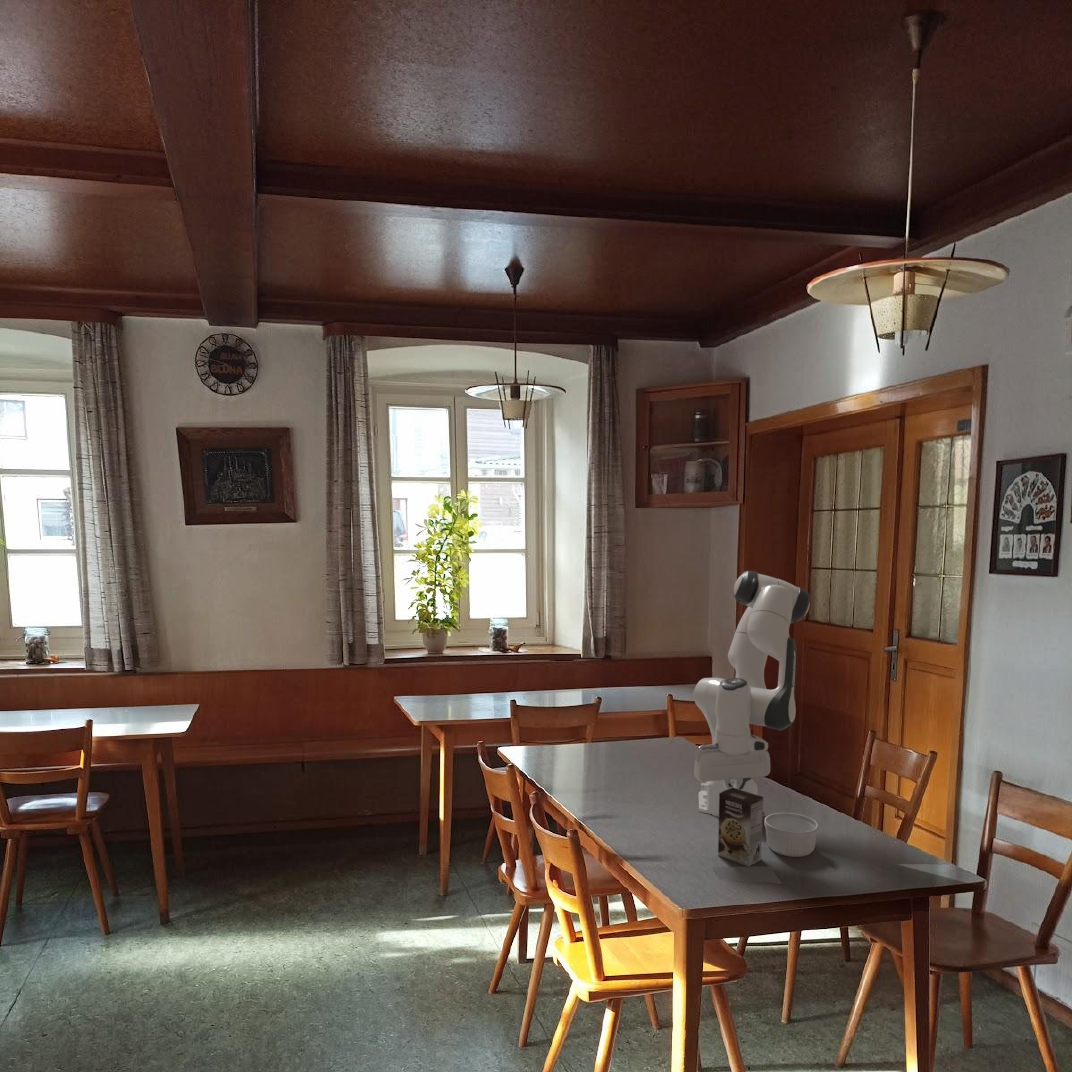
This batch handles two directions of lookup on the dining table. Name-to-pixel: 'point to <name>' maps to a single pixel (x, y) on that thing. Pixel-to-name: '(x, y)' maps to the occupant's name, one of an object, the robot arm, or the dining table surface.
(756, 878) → the mat
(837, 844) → the dining table surface
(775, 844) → the ramekin
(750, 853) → the dark cardboard box
